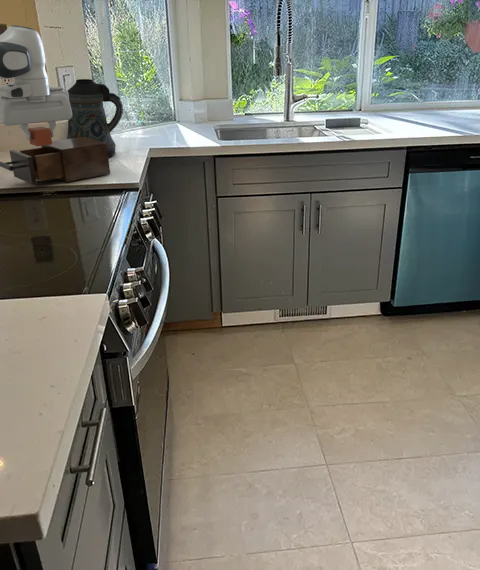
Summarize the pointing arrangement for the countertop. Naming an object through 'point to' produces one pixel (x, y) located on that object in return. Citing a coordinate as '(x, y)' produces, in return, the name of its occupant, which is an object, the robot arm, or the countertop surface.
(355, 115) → the countertop surface
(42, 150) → the drawer
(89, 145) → the cabinet
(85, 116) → the dark grey pitcher
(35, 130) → the block
